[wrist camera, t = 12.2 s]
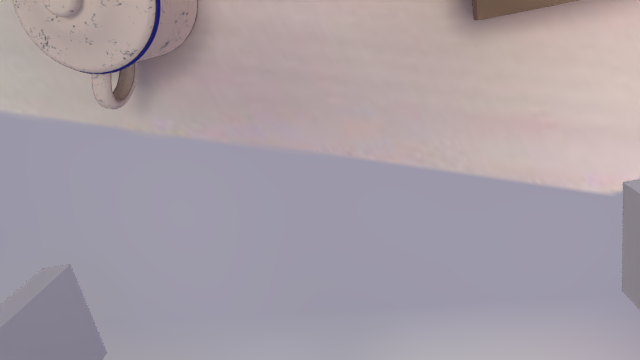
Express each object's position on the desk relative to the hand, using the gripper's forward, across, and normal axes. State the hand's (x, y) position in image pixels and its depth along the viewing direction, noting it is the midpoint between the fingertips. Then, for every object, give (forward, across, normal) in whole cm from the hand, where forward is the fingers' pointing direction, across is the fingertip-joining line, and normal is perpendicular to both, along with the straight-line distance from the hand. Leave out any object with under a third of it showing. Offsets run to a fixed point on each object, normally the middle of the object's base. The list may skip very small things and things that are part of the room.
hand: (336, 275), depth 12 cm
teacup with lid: (+29, -15, +8) cm, 34 cm away
